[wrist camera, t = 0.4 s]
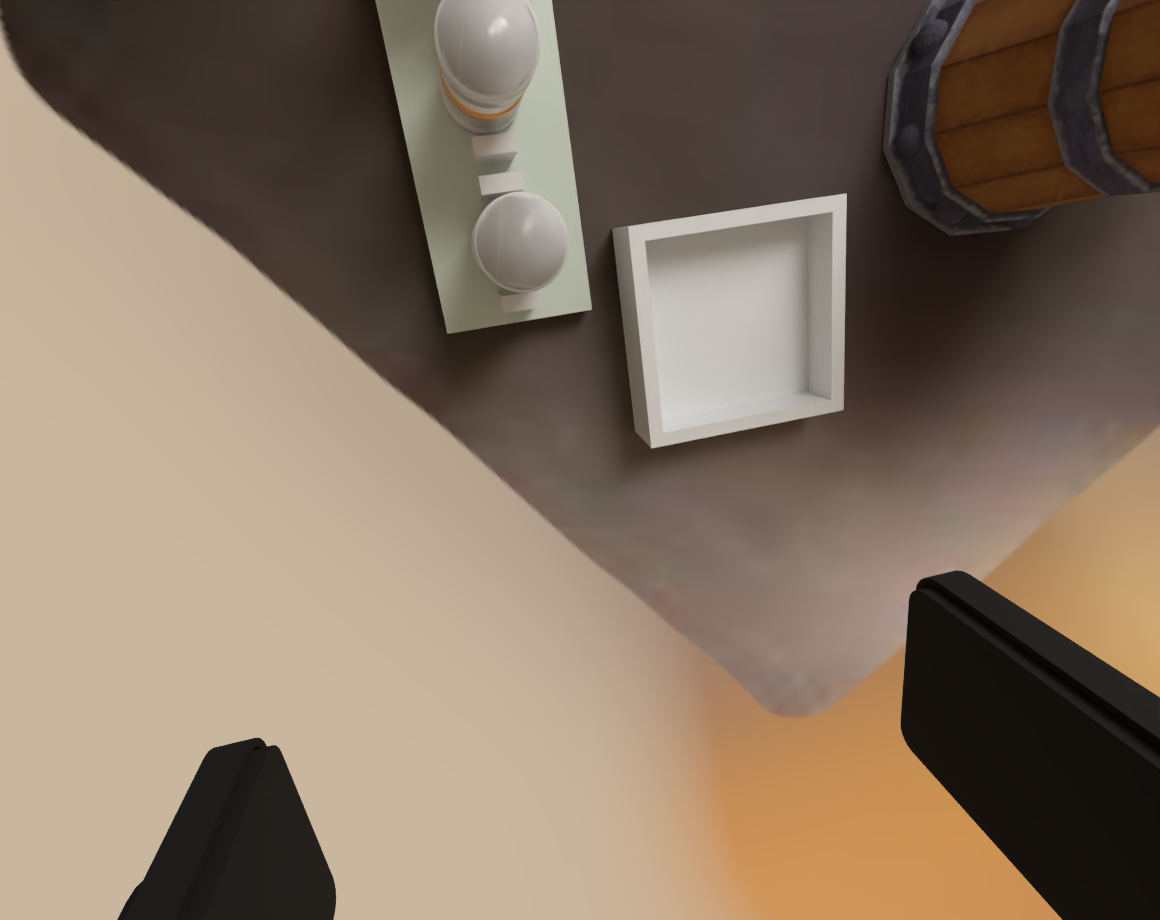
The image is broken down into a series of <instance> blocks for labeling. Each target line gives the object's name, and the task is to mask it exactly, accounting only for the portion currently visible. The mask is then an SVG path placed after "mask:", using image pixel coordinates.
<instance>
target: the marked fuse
mask: <svg viewBox="0 0 1160 920" xmlns="http://www.w3.org/2000/svg"><path fill="white" fill-rule="evenodd" d="M434 37H435V46H436V54H437V59H438V63H439V69H440V87H441V95H442V100H443V103H444V106H445V108H446V110H447V112H448V114H449V116H450V117H451V119H452V120H453V121H454V122H455V123H456V124H457V125H458V126H459V127H460V128H462V129H463V130H465V131H467V132H469V133H471V134H474V135H478V136H484V135H492V134H497V133H499V132H501V131H503V130H504V129H506V128H507V127H508V126H509V125H510V124H511V123H512V121H513V120H514V118H515V116H516V115H517V112H518V110H519V108H520V105H521V102H522V99H523V95H524V93H525V90H526V89H527V87H528V85H529V84H530V82H531V79H532V77H533V75H534V72H535V70H536V67H537V65H538V62H539V58H540V52H541V34H540V28H539V24H538V21H537V17H536V15H535V13H534V10H533V9H532V7H531V5H530V3H529V2H528V0H441V2H440V4H439V7H438V10H437V13H436V18H435V25H434Z"/></svg>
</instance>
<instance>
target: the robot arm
mask: <svg viewBox="0 0 1160 920" xmlns="http://www.w3.org/2000/svg"><path fill="white" fill-rule="evenodd" d="M901 730H902V734H903V737H904V739H905V741H906V743H907V745H908V747H909V748H910V749H911V751H912V752H913V753H914V754H915V755H916V756H917V757H918V759H919V760H920V761H921V762H922V763H923V764H924V765H925V766H926V768H927V769H928V770H929V771H930V772H931V773H932V774H933V775H934V776H935V778H937V780H938V781H939V782H940V783H941V784H942V785H943V786H944V788H945V789H946V790H947V791H948V792H949V793H950V794H951V795H952V797H953V798H954V799H955V800H956V801H957V802H958V803H959V804H960V805H961V807H962V808H963V809H964V810H965V811H966V812H967V813H968V814H969V816H970V817H971V818H972V819H973V820H974V821H975V822H976V823H977V825H978V826H979V827H980V828H981V829H982V830H983V831H984V832H985V834H987V836H988V837H989V838H990V839H991V840H992V841H993V842H994V844H995V845H996V846H997V847H998V848H999V849H1000V850H1001V851H1002V852H1003V853H1004V855H1005V856H1006V857H1007V858H1008V859H1009V860H1010V861H1011V863H1013V865H1014V866H1015V867H1016V868H1017V869H1018V870H1019V871H1020V873H1021V874H1022V875H1023V876H1024V877H1025V878H1026V879H1027V881H1028V882H1029V883H1030V884H1031V885H1032V886H1033V887H1034V888H1035V889H1036V891H1038V893H1039V894H1040V895H1041V896H1042V897H1043V898H1044V899H1045V901H1046V902H1047V903H1048V904H1049V905H1050V906H1051V907H1052V908H1053V910H1054V911H1055V912H1056V913H1057V914H1058V915H1059V916H1060V917H1061V918H1062V920H1160V697H1158V696H1157V695H1155V694H1153V693H1152V692H1150V691H1149V690H1147V689H1146V688H1144V687H1143V686H1141V685H1139V684H1138V683H1136V682H1135V681H1133V680H1132V679H1130V678H1129V677H1127V676H1126V675H1124V674H1122V673H1121V672H1119V671H1118V670H1116V669H1115V668H1113V667H1111V666H1110V665H1108V664H1107V663H1105V662H1104V661H1102V660H1101V659H1099V658H1097V657H1096V656H1095V655H1093V654H1092V653H1090V652H1089V651H1087V650H1085V649H1084V648H1082V647H1081V646H1079V645H1078V644H1076V643H1075V642H1073V641H1071V640H1070V639H1068V638H1067V637H1065V636H1064V635H1062V634H1061V633H1059V632H1058V631H1056V630H1055V629H1053V628H1051V627H1050V626H1048V625H1047V624H1045V623H1044V622H1042V621H1040V620H1039V619H1037V618H1036V617H1034V616H1033V615H1031V614H1030V613H1028V612H1027V611H1025V610H1024V609H1022V608H1020V607H1019V606H1017V605H1016V604H1014V603H1013V602H1011V601H1010V600H1008V599H1007V598H1005V597H1003V596H1002V595H1000V594H999V593H997V592H996V591H994V590H993V589H991V588H990V587H988V586H986V585H985V584H983V583H982V582H980V581H979V580H977V579H976V578H974V577H973V576H971V575H969V574H967V573H965V572H963V571H952V572H948V573H944V574H940V575H935V576H931V577H927V578H924V579H922V580H920V581H919V583H918V584H917V587H916V591H913V592H912V593H911V595H910V598H909V610H908V624H907V638H906V654H905V668H904V682H903V697H902V711H901ZM335 906H336V889H335V884H334V879H333V876H332V874H331V872H330V869H329V867H328V864H327V862H326V859H325V857H324V855H323V852H322V850H321V847H320V845H319V842H318V840H317V838H316V835H315V833H314V830H313V828H312V825H311V823H310V821H309V818H308V816H307V813H306V811H305V809H304V806H303V803H302V801H301V799H300V796H299V794H298V791H297V789H296V786H295V784H294V782H293V779H292V777H291V774H290V772H289V769H288V767H287V765H286V762H285V760H284V757H283V755H282V753H281V751H280V749H279V748H278V747H277V746H276V745H274V746H268V747H267V746H266V744H265V742H264V741H263V740H262V739H261V738H253V739H249V740H245V741H240V742H236V743H232V744H228V745H224V746H220V747H215V748H213V749H211V750H210V751H208V753H207V754H206V756H205V758H204V759H203V761H202V763H201V765H200V767H199V769H198V771H197V773H196V775H195V777H194V779H193V781H192V783H191V785H190V787H189V789H188V791H187V793H186V795H185V797H184V799H183V801H182V803H181V805H180V807H179V809H178V812H177V813H176V815H175V817H174V819H173V822H172V823H171V825H170V827H169V829H168V832H167V834H166V836H165V838H164V840H163V842H162V844H161V846H160V848H159V850H158V852H157V854H156V856H155V858H154V860H153V862H152V864H151V866H150V868H149V870H148V872H147V874H146V876H145V878H144V880H143V881H142V882H141V883H140V884H139V885H138V886H137V887H136V888H135V889H134V891H133V893H132V894H131V896H130V897H129V899H128V900H127V902H126V904H125V906H124V908H123V910H122V912H121V914H120V916H119V918H118V920H333V919H334V913H335Z"/></svg>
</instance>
